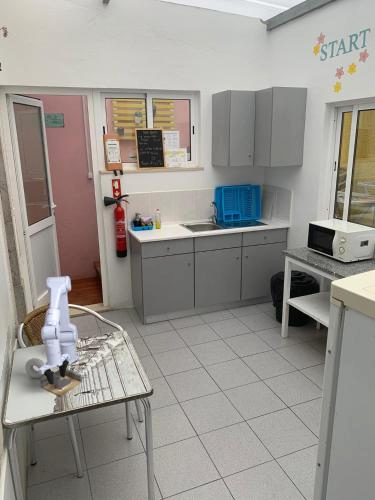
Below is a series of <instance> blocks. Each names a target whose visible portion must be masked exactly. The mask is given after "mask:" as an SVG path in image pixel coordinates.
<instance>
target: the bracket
mask: <svg viewBox="0 0 375 500" xmlns="http://www.w3.org/2000/svg"><path fill="white" fill-rule="evenodd" d="M53 381H54V384H53V386H54V388H56V389H58V390H61V389H62V388H64V387H66V386H67V385H69V384H70V383H71V381H70V380H67V379H65V378H64V379H63V380H61V379H60V376H58V375H55V374H53Z"/></svg>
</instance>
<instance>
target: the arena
mask: <svg viewBox="0 0 375 500" xmlns="http://www.w3.org/2000/svg"><path fill="white" fill-rule="evenodd" d="M54 374H55V375H58V376H60V371H59V369H58V370H56V371H55V372H54ZM64 378H65V379H67V380H70V381H71V383H70V384H69V385H67V386H66V387H64V388H62V389H61V390H58V389H56V388H54V386H53V385H51V384H49V382H48V380H47V378H46V377H45V378H43V379H41V380H40V384H41V389H43V390H45V391H47V392H49V393H51V394H54V395H56V396H58V397H62V396H64V395H65V394H66V393H69V392H70V391H71V390H73V389H74V388H76V387H77V386H79V385H81V383H83V377H82V374H80V373H78V372H75V371H74V370H71V369H68V368H67V369H66V373H65V377H64ZM64 378H63V377H61V376H60V379H61V380H63V379H64Z"/></svg>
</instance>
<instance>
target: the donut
mask: <svg viewBox="0 0 375 500" xmlns="http://www.w3.org/2000/svg"><path fill="white" fill-rule="evenodd" d="M45 363H46V362H45V361H43V360H42V359H40V358H36V357H33V358H30V359H28V360H27V361H26V362H25V366H24V370H25V371H26V374H27V375H28V376H29V377H30V378H33V379H42V378H43V377H44V376H45V375H44V374H40V373H39V368H41V367H42V366H43V365H44V364H45ZM34 367H36V368H38V370H36V369H35V368H34Z"/></svg>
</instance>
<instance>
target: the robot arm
mask: <svg viewBox="0 0 375 500" xmlns="http://www.w3.org/2000/svg"><path fill="white" fill-rule="evenodd" d="M71 283H72V282H71V278H70V276H68V275H65V276H48V277H47V278H46V280H45V287H46V290H47V292H48V294H49V307H48V309H46V312H45V319H44V323H43V324H44V325H43V327H41V332H40V333H41V339H42V342H43V343H42V344H43V345H44V348H45V355H46V362H44V363H45V364H44V365H43V366H42V367H41V368H39V369H38V371H39V373H40V374H44V376H45V378H47V380H48V382H49V384H51V385H53V384H54V381H53V374H54V373H55V372H54V371H53V370H52V369H53V368H55V367H57V368H58V370H59V371H60V376H61V377H63V378H64V377H65V373H66V369H68V366H69V365H71V364H72V363H74V362H76V361H77V360H80V359H81V357H82V356H80V355H77V348H76V347H77V345H76V343H77V342H78V338H79V333H78V328H77V325H75V324H73V323H71V318H70V317H71V316H70V309H69V299H68V292H70V291H71V290H72V284H71Z"/></svg>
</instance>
